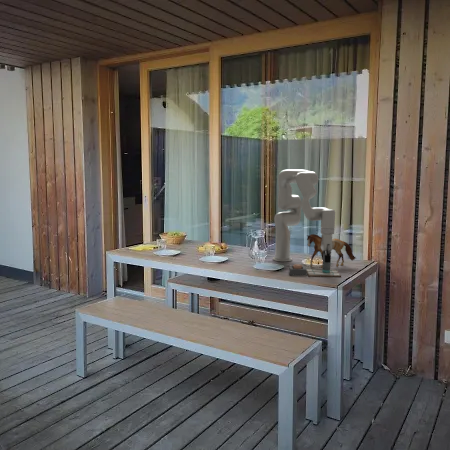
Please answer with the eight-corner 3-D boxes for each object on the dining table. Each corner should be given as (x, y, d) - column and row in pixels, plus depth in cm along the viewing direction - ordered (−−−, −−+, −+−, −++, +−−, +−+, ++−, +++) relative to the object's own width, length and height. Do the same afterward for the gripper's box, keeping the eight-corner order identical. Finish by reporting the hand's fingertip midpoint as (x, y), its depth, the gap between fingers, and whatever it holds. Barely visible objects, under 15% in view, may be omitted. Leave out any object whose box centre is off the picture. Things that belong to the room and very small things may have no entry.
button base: (289, 271, 273) (289, 265, 273) (304, 271, 273) (304, 266, 272) (290, 275, 264) (290, 269, 264) (306, 275, 264) (306, 269, 263)
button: (292, 268, 271) (293, 264, 271) (301, 268, 271) (301, 264, 270) (293, 270, 266) (293, 265, 266) (302, 270, 266) (302, 266, 265)
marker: (321, 271, 271) (322, 250, 269) (329, 271, 270) (330, 251, 269) (322, 272, 266) (323, 252, 265) (330, 273, 266) (331, 252, 264)
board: (305, 270, 276) (305, 268, 276) (336, 270, 275) (336, 269, 275) (308, 276, 261) (308, 275, 261) (341, 277, 260) (341, 275, 260)
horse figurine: (306, 268, 282) (307, 234, 279) (303, 265, 289) (303, 232, 287) (356, 267, 285) (357, 234, 282) (351, 264, 292) (352, 232, 290)
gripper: (318, 228, 274) (317, 256, 276) (323, 233, 257) (321, 263, 259) (331, 228, 273) (330, 257, 276) (337, 233, 256) (335, 264, 259)
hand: (326, 260), depth 268 cm, fingers open, 9 cm apart
